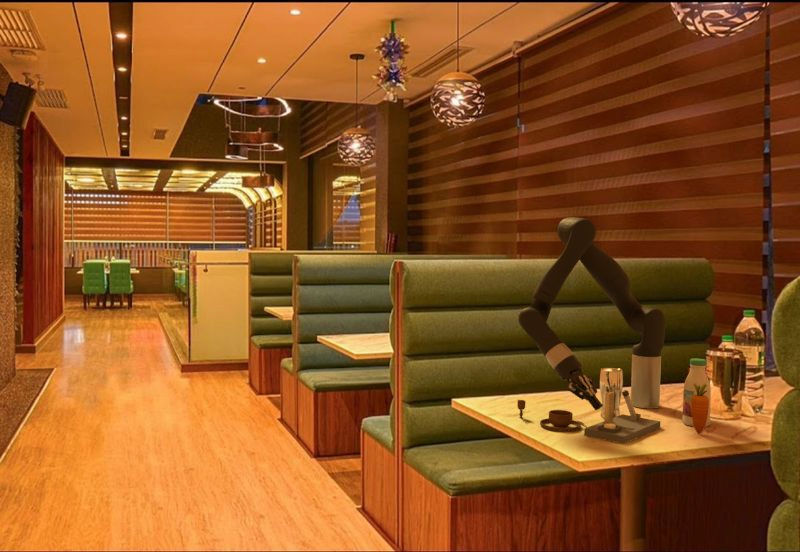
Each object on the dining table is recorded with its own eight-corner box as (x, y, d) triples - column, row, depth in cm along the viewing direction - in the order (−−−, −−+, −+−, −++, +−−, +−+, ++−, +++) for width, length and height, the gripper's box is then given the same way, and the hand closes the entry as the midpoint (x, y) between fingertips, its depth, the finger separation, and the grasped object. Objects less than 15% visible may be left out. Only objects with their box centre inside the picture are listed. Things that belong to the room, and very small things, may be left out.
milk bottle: (708, 422, 227) (711, 358, 226) (710, 428, 220) (712, 362, 219) (681, 420, 229) (684, 356, 228) (682, 426, 222) (685, 360, 221)
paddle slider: (607, 422, 217) (608, 391, 216) (615, 423, 215) (615, 392, 215) (602, 423, 214) (603, 393, 214) (610, 425, 213) (611, 394, 212)
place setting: (541, 435, 212) (541, 415, 211) (513, 418, 231) (513, 400, 231) (596, 432, 216) (596, 412, 216) (564, 416, 235) (564, 397, 235)
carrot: (686, 432, 215) (688, 381, 215) (702, 431, 216) (704, 381, 215) (694, 436, 210) (696, 384, 210) (711, 436, 211) (713, 384, 210)
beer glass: (622, 420, 229) (624, 372, 228) (599, 418, 230) (601, 371, 229) (620, 414, 235) (622, 368, 235) (598, 413, 237) (599, 367, 236)
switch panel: (622, 420, 228) (622, 409, 228) (660, 427, 220) (660, 415, 220) (584, 435, 210) (584, 422, 210) (623, 443, 202) (624, 430, 202)
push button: (607, 427, 211) (607, 422, 211) (617, 429, 209) (617, 424, 209) (601, 429, 209) (601, 424, 208) (612, 431, 206) (612, 426, 206)
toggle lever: (633, 418, 222) (623, 390, 224) (639, 417, 221) (628, 389, 223) (630, 420, 221) (620, 391, 223) (636, 418, 220) (625, 389, 222)
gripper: (560, 356, 217) (597, 404, 210) (582, 351, 227) (618, 397, 220) (544, 372, 221) (579, 419, 214) (566, 366, 231) (601, 411, 223)
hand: (599, 408), depth 217 cm, fingers closed
